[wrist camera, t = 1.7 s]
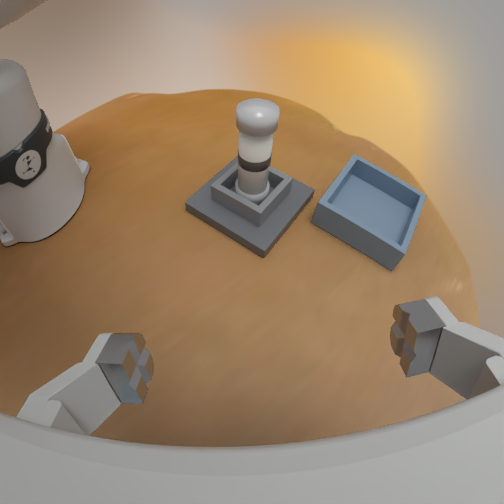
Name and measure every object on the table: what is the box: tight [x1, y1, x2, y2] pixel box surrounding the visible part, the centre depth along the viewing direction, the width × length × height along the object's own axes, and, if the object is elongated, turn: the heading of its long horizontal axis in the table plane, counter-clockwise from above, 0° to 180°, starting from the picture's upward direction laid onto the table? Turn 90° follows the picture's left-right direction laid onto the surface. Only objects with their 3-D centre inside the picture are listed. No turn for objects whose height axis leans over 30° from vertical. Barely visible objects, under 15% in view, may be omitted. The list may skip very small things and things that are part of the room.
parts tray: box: [312, 154, 426, 271], centre depth 39 cm, size 12×12×4 cm
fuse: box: [235, 98, 279, 206], centre depth 34 cm, size 4×4×13 cm
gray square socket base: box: [185, 156, 314, 258], centre depth 39 cm, size 12×12×4 cm
